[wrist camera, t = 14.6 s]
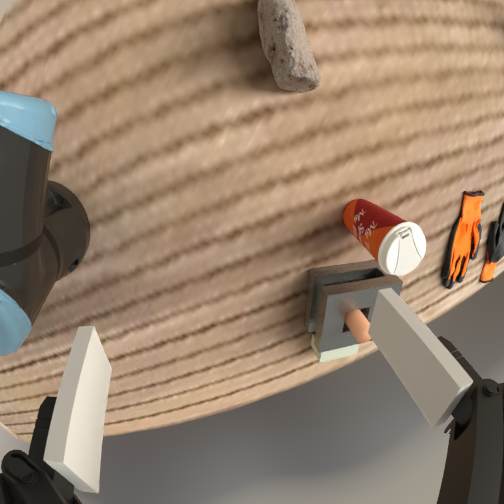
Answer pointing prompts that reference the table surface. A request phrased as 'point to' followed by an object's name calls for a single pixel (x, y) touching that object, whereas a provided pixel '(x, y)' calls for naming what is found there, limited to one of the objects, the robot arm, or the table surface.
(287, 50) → the pumice stone
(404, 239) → the paper cup
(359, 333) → the pin
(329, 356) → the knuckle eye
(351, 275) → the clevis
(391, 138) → the table surface
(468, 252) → the pair of gloves
